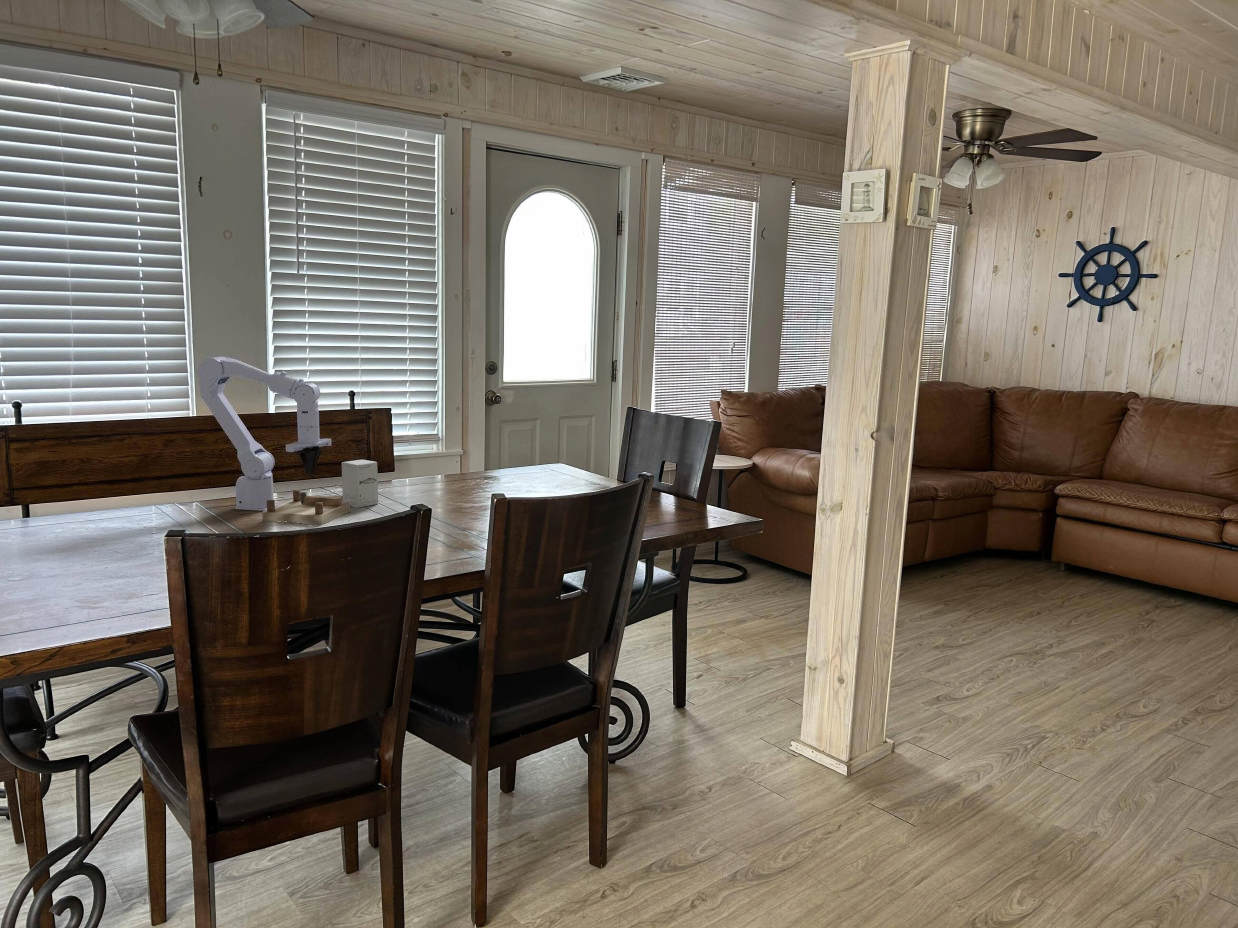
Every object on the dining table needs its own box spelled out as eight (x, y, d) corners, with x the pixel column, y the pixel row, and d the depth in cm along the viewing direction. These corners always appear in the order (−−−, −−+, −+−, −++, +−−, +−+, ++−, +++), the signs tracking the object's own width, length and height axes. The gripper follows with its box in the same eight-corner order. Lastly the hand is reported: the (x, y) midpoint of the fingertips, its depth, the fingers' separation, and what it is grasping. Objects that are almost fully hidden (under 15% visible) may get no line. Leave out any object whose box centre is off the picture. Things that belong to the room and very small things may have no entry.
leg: (299, 503, 250) (299, 493, 249) (302, 502, 252) (302, 491, 251) (338, 505, 249) (338, 495, 248) (341, 504, 250) (341, 493, 250)
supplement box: (358, 508, 258) (356, 464, 256) (342, 504, 263) (340, 461, 260) (379, 504, 264) (378, 461, 262) (363, 500, 268) (361, 458, 266)
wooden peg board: (262, 521, 242) (261, 500, 241) (293, 508, 257) (292, 489, 256) (322, 524, 239) (321, 504, 238) (349, 511, 254) (349, 492, 253)
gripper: (297, 430, 245) (299, 479, 247) (338, 424, 258) (340, 471, 260) (279, 428, 248) (281, 476, 251) (320, 422, 261) (322, 468, 263)
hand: (310, 473), depth 256 cm, fingers closed
